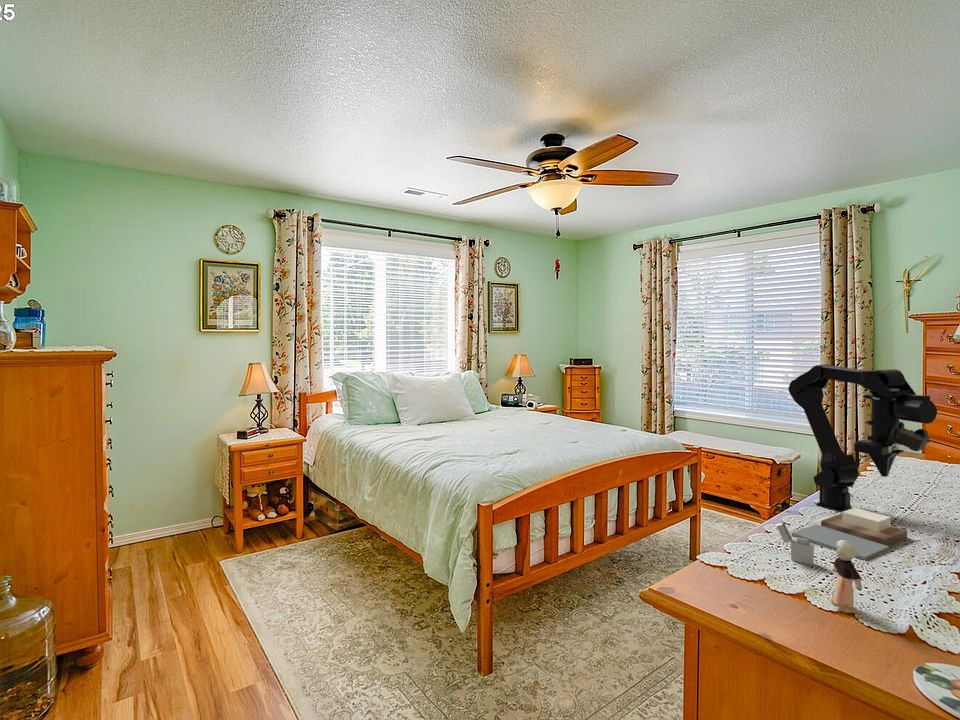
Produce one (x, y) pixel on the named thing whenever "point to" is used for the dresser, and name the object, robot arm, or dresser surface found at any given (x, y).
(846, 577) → the grandmother figurine
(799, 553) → the lighter
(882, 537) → the board
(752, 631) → the dresser surface
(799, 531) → the mat
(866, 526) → the tile
